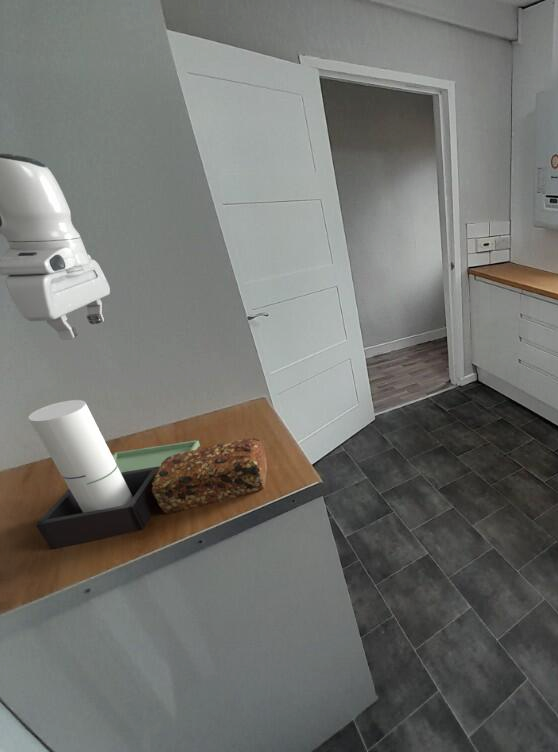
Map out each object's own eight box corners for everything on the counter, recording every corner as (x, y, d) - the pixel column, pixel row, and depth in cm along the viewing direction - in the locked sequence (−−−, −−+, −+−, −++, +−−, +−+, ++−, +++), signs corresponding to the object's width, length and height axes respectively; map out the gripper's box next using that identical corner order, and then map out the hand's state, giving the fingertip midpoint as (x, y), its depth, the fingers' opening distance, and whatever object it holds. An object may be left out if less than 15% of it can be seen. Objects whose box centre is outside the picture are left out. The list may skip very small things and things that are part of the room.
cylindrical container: (100, 508, 85) (42, 404, 74) (142, 499, 87) (93, 397, 76) (83, 533, 79) (18, 424, 68) (130, 522, 81) (74, 415, 71)
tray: (82, 499, 87) (79, 493, 86) (117, 458, 100) (114, 452, 99) (179, 482, 92) (176, 476, 92) (200, 445, 105) (198, 439, 105)
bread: (270, 464, 98) (260, 430, 94) (265, 493, 89) (254, 456, 85) (176, 485, 91) (160, 449, 87) (161, 518, 82) (142, 480, 78)
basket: (50, 549, 75) (35, 524, 73) (88, 502, 86) (77, 479, 84) (143, 530, 80) (132, 506, 77) (168, 488, 91) (159, 466, 88)
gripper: (64, 248, 80) (92, 316, 86) (-15, 266, 62) (26, 350, 68) (105, 247, 82) (130, 314, 88) (39, 264, 64) (75, 346, 70)
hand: (84, 330), depth 78 cm, fingers open, 8 cm apart
